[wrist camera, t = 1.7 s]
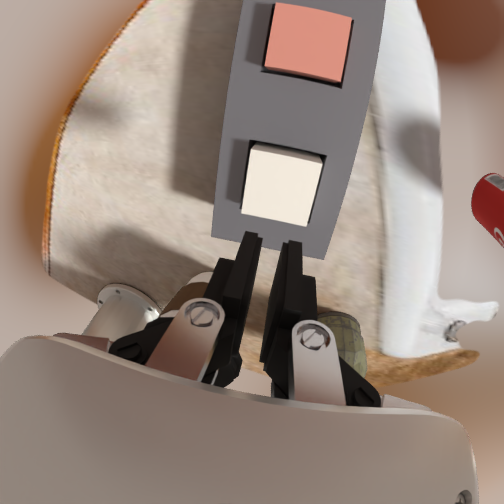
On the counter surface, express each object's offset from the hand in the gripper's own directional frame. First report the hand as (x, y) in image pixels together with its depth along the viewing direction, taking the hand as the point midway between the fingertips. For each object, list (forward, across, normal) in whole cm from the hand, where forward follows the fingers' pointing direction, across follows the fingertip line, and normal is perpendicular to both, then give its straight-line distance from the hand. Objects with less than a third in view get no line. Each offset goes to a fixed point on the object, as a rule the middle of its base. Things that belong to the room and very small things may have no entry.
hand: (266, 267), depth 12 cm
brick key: (+13, 0, -11) cm, 17 cm away
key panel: (+17, 0, -6) cm, 18 cm away
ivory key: (+13, 0, 0) cm, 13 cm away
